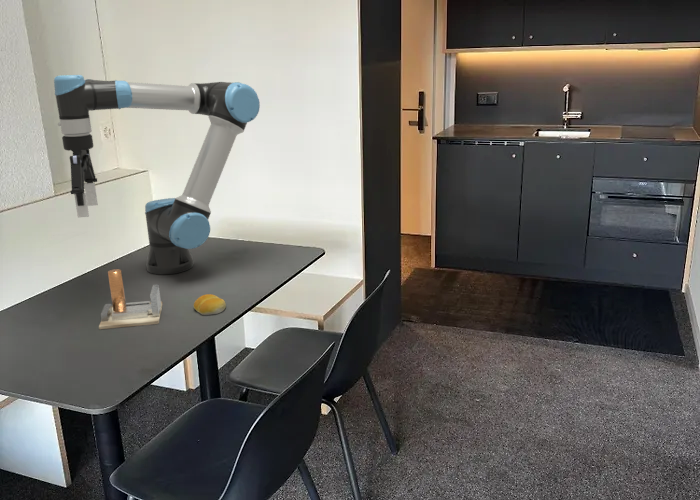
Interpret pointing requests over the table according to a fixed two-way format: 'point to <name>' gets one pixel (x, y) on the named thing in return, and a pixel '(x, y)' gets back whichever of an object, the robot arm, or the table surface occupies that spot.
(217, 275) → the table surface
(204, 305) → the bread roll
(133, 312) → the rails
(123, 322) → the board
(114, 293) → the ram
